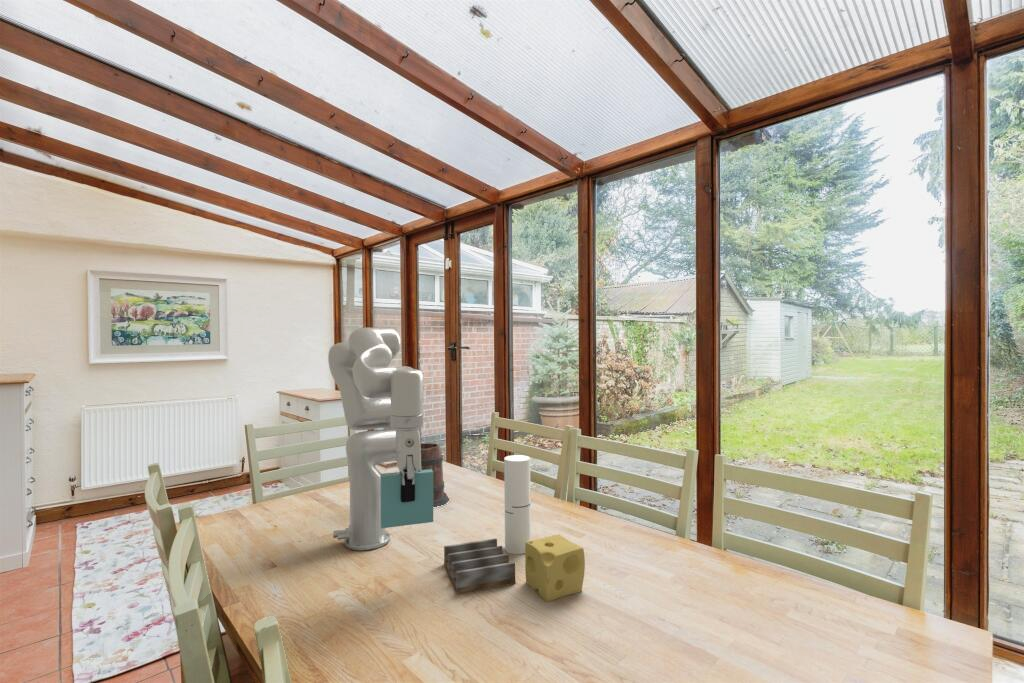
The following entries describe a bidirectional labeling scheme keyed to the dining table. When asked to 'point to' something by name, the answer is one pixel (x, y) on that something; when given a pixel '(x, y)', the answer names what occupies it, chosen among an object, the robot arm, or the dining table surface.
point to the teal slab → (406, 512)
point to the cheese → (554, 566)
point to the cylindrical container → (517, 503)
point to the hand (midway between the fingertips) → (407, 498)
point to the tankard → (434, 471)
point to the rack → (478, 566)
